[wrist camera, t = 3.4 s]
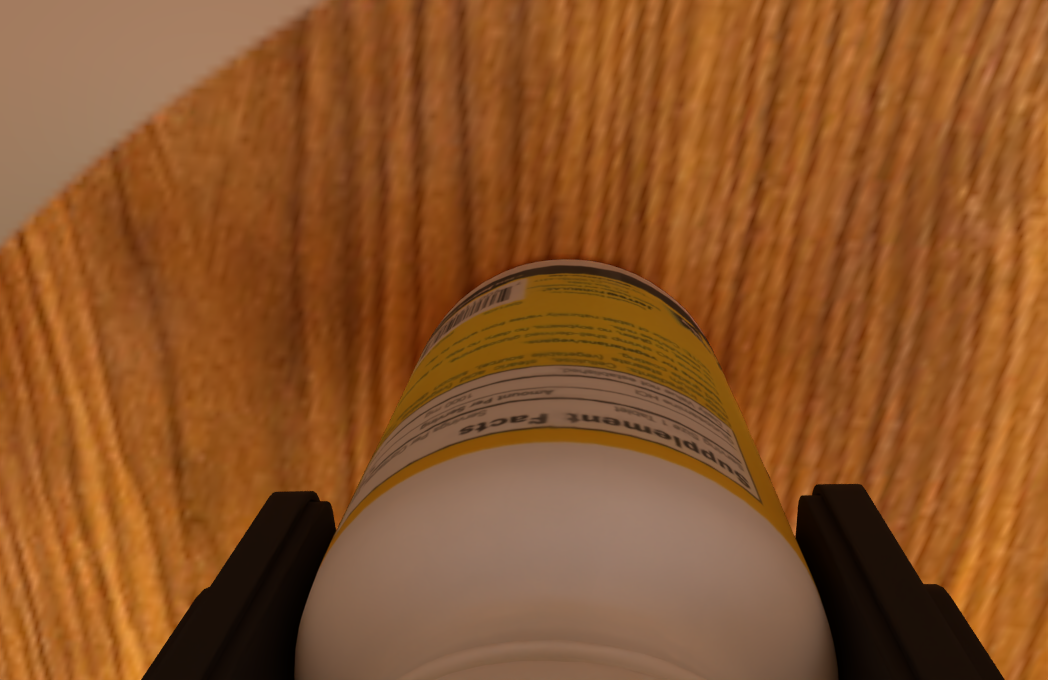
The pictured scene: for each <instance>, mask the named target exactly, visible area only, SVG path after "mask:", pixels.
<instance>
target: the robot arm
mask: <svg viewBox="0 0 1048 680" xmlns="http://www.w3.org/2000/svg"><path fill="white" fill-rule="evenodd" d="M335 532H336V527H335V521H334V516H333V510H332V506H331V504H330V503H329V502H328V501H320V500H319V497H318V495H317V493H315V492H314V491H296V492H274V493H272V495H271V496H270V497H269V498H268V500H267V501H266V503H265V504H264V506H263V507H262V509H261V510H260V512H259V513H258V515H257V516H256V518H255V519H254V521H253V522H252V524H251V525H250V527H249V529H248V530H247V532H246V533H245V535H244V536H243V538H242V539H241V541H240V542H239V544H238V545H237V547H236V548H235V550H234V551H233V553H232V554H231V556H230V557H229V559H228V560H227V562H226V563H225V565H224V566H223V568H222V569H221V571H220V572H219V574H218V575H217V577H216V578H215V580H214V581H213V583H212V585H211V586H210V587H208V588H206V589H204V590H203V591H202V592H201V593H200V594H199V595H198V596H197V597H196V599H195V600H194V602H193V603H192V605H191V606H190V608H189V609H188V611H187V612H186V614H185V615H184V617H183V618H182V620H181V621H180V623H179V624H178V626H177V627H176V629H175V630H174V632H173V633H172V635H171V636H170V637H169V639H168V640H167V642H166V643H165V645H164V646H163V648H162V649H161V651H160V652H159V654H158V655H157V657H156V658H155V660H154V661H153V663H152V664H151V666H150V667H149V669H148V670H147V672H146V673H145V675H144V676H143V678H142V679H141V680H294V667H295V648H296V642H297V636H298V630H299V625H300V621H301V617H302V614H303V611H304V608H305V605H306V602H307V599H308V596H309V593H310V590H311V588H312V585H313V583H314V580H315V577H316V575H317V572H318V569H319V567H320V565H321V562H322V560H323V558H324V556H325V554H326V552H327V549H328V547H329V545H330V543H331V541H332V539H333V536H334V534H335ZM796 541H797V543H798V545H799V548H800V550H801V552H802V554H803V557H804V559H805V561H806V563H807V566H808V568H809V570H810V573H811V575H812V577H813V579H814V582H815V584H816V587H817V589H818V592H819V594H820V597H821V601H822V604H823V607H824V610H825V613H826V616H827V620H828V623H829V626H830V630H831V634H832V638H833V642H834V646H835V652H836V659H837V665H838V678H839V680H1005V679H1004V678H1003V676H1002V675H1001V673H1000V672H999V670H998V669H997V667H996V666H995V664H994V663H993V661H992V659H991V658H990V656H989V655H988V653H987V652H986V650H985V649H984V647H983V646H982V644H981V643H980V641H979V639H978V638H977V636H976V635H975V633H974V632H973V630H972V629H971V627H970V626H969V624H968V622H967V621H966V619H965V618H964V616H963V615H962V613H961V612H960V610H959V609H958V607H957V606H956V604H955V602H954V601H953V599H952V598H951V596H950V595H949V594H948V593H947V592H946V590H945V589H944V588H943V587H941V586H939V585H937V584H923V583H922V581H921V580H920V578H919V576H918V575H917V573H916V571H915V570H914V568H913V567H912V565H911V563H910V562H909V560H908V558H907V557H906V555H905V554H904V552H903V550H902V549H901V547H900V545H899V544H898V542H897V541H896V539H895V537H894V536H893V534H892V532H891V531H890V529H889V528H888V526H887V524H886V523H885V521H884V519H883V518H882V516H881V514H880V513H879V511H878V510H877V508H876V506H875V505H874V503H873V501H872V500H871V498H870V497H869V495H868V493H867V492H866V490H865V489H864V487H863V486H862V485H860V484H818V485H816V486H815V487H814V490H813V493H812V495H805V496H801V497H800V499H799V504H798V514H797V526H796Z"/></svg>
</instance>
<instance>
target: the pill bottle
mask: <svg viewBox="0 0 1048 680" xmlns="http://www.w3.org/2000/svg"><path fill="white" fill-rule="evenodd" d="M294 680H839V678H838V665H837V659H836V652H835V646H834V642H833V638H832V634H831V630H830V626H829V623H828V620H827V616H826V613H825V610H824V607H823V604H822V601H821V597H820V594H819V592H818V589H817V587H816V584H815V582H814V579H813V577H812V575H811V573H810V570H809V568H808V566H807V563H806V561H805V559H804V557H803V554H802V552H801V550H800V548H799V545H798V543H797V541H796V538H795V536H794V534H793V532H792V529H791V527H790V525H789V523H788V520H787V518H786V516H785V513H784V511H783V509H782V506H781V503H780V501H779V498H778V496H777V494H776V491H775V489H774V487H773V485H772V482H771V480H770V477H769V475H768V473H767V471H766V469H765V467H764V464H763V462H762V460H761V458H760V455H759V453H758V450H757V448H756V446H755V443H754V441H753V439H752V437H751V435H750V432H749V430H748V427H747V425H746V423H745V420H744V418H743V416H742V413H741V411H740V408H739V406H738V404H737V402H736V400H735V398H734V396H733V394H732V392H731V389H730V387H729V385H728V383H727V380H726V378H725V376H724V374H723V371H722V369H721V366H720V364H719V362H718V360H717V358H716V356H715V354H714V352H713V350H712V348H711V346H710V344H709V343H708V341H707V339H706V337H705V335H704V334H703V332H702V331H701V329H700V328H699V326H698V325H697V323H696V322H695V320H694V319H693V318H692V317H691V315H690V314H689V313H688V312H687V311H686V310H685V309H684V308H683V307H682V306H681V305H680V304H679V303H678V302H677V301H676V300H675V299H673V298H672V297H671V296H670V295H668V294H667V293H666V292H664V291H663V290H661V289H660V288H659V287H657V286H656V285H654V284H653V283H651V282H649V281H648V280H646V279H644V278H642V277H640V276H638V275H636V274H634V273H631V272H629V271H626V270H624V269H621V268H618V267H615V266H612V265H608V264H604V263H600V262H594V261H588V260H568V259H561V260H547V261H540V262H534V263H530V264H525V265H521V266H518V267H516V268H513V269H510V270H507V271H505V272H503V273H501V274H499V275H497V276H495V277H493V278H491V279H489V280H487V281H485V282H483V283H482V284H481V285H479V286H478V287H476V288H475V289H474V290H472V291H471V292H470V293H468V294H467V295H466V296H465V297H464V298H462V299H461V300H460V301H459V302H458V303H457V304H456V305H455V306H454V307H453V308H452V309H451V310H450V311H449V312H448V314H447V315H446V316H445V317H444V318H443V320H442V321H441V323H440V324H439V326H438V327H437V328H436V330H435V331H434V333H433V334H432V336H431V338H430V339H429V341H428V343H427V345H426V346H425V348H424V350H423V352H422V354H421V356H420V359H419V361H418V362H417V364H416V366H415V369H414V371H413V373H412V375H411V377H410V379H409V381H408V384H407V386H406V388H405V390H404V392H403V394H402V396H401V398H400V400H399V402H398V404H397V407H396V409H395V411H394V413H393V415H392V417H391V419H390V421H389V424H388V426H387V428H386V430H385V432H384V434H383V436H382V438H381V440H380V442H379V444H378V446H377V448H376V451H375V453H374V454H373V456H372V458H371V460H370V462H369V464H368V466H367V468H366V470H365V472H364V474H363V476H362V478H361V480H360V482H359V484H358V486H357V489H356V491H355V493H354V495H353V497H352V499H351V502H350V504H349V506H348V508H347V510H346V512H345V514H344V516H343V518H342V520H341V522H340V524H339V526H338V528H337V530H336V532H335V534H334V536H333V539H332V541H331V543H330V545H329V547H328V549H327V552H326V554H325V556H324V558H323V560H322V562H321V565H320V567H319V569H318V572H317V575H316V577H315V580H314V583H313V585H312V588H311V590H310V593H309V596H308V599H307V602H306V605H305V608H304V611H303V614H302V617H301V621H300V625H299V630H298V636H297V642H296V648H295V667H294Z"/></svg>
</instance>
